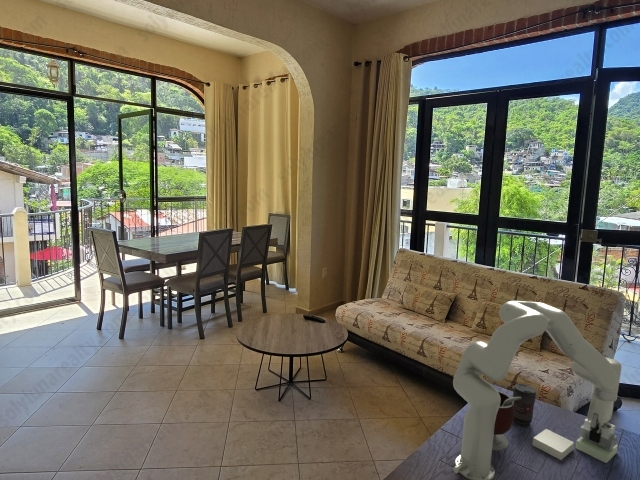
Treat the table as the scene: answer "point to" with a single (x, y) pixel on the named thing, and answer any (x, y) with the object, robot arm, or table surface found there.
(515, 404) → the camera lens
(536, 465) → the table surface
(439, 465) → the table surface
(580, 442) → the stand
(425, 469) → the table surface
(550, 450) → the stand
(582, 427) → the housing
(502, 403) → the mate gourd
